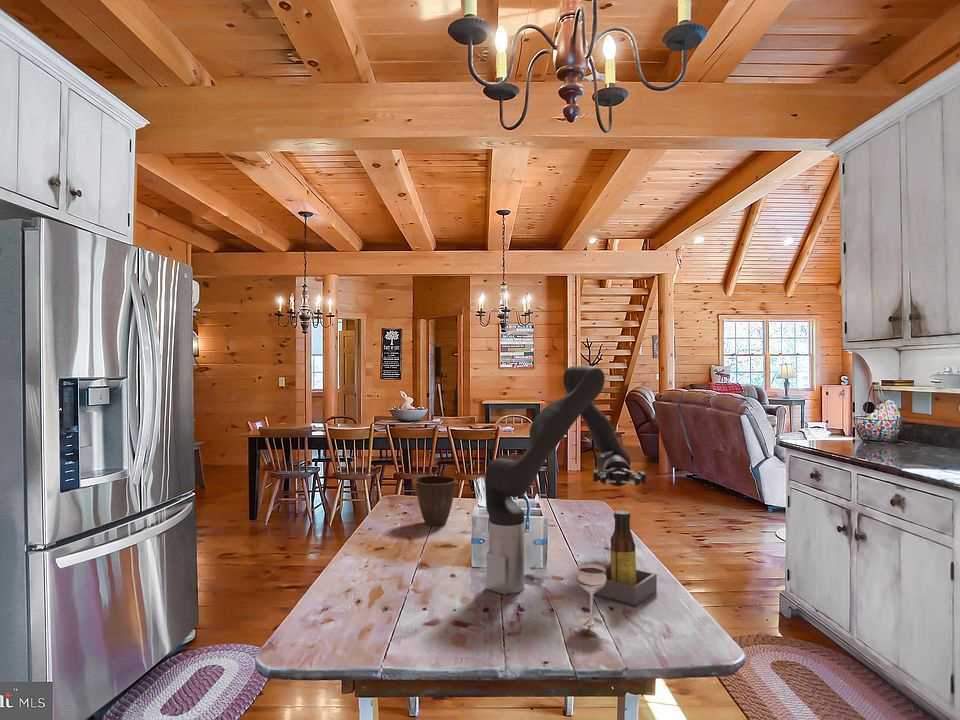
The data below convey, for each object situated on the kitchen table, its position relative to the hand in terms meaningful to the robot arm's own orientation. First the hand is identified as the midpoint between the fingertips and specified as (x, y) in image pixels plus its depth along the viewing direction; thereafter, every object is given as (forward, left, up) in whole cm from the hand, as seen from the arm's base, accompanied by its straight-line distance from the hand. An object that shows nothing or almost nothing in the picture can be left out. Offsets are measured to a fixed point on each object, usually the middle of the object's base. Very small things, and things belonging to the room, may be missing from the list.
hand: (620, 481), depth 159 cm
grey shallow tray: (-7, -4, -27) cm, 28 cm away
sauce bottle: (-7, -4, -26) cm, 28 cm away
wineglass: (-27, -6, -27) cm, 39 cm away
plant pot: (+9, +77, -27) cm, 82 cm away
